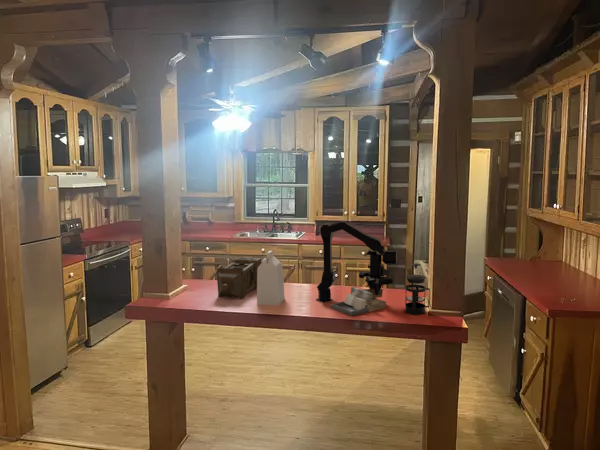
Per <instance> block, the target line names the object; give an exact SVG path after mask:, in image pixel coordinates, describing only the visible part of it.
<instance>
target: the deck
mask: <svg viewBox="0 0 600 450" xmlns="http://www.w3.org/2000/svg"><path fill="white" fill-rule="evenodd" d="M386 305H387V304H386V301H384V300H383V299H379V298H372V302H368V301H366V304H365V308H368V312H367V313H370V312H374V311H378V310H382V309H386Z"/></svg>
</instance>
